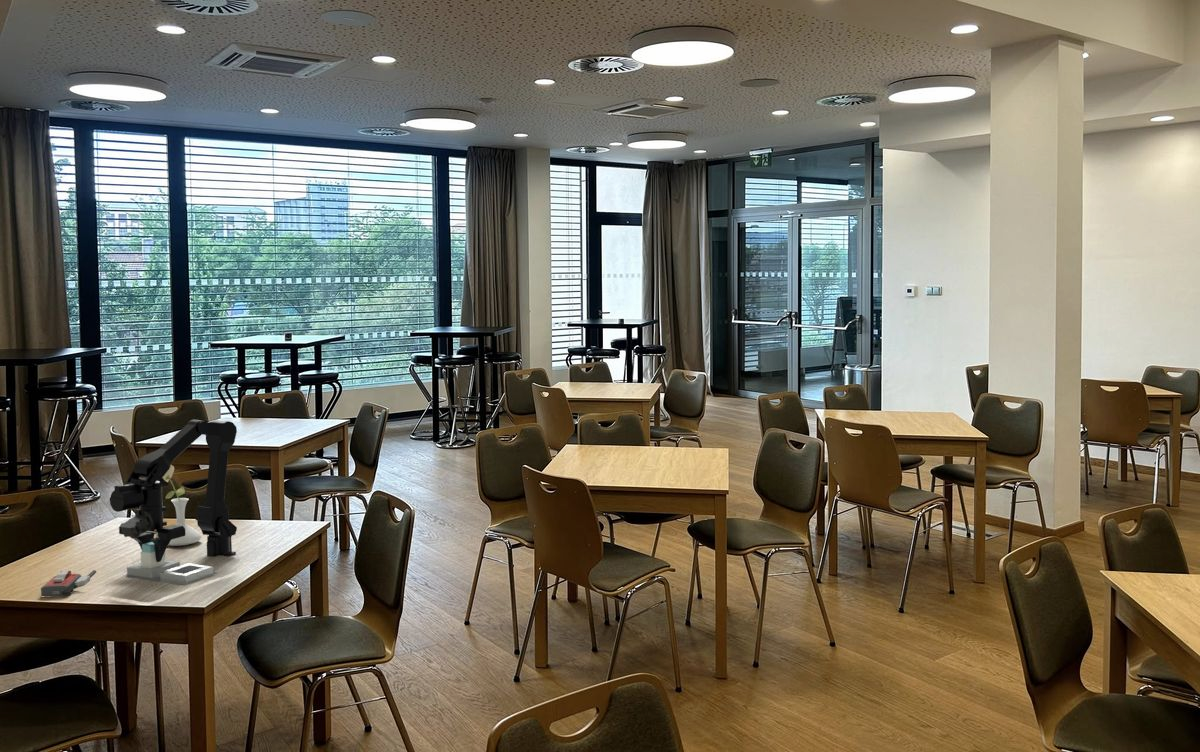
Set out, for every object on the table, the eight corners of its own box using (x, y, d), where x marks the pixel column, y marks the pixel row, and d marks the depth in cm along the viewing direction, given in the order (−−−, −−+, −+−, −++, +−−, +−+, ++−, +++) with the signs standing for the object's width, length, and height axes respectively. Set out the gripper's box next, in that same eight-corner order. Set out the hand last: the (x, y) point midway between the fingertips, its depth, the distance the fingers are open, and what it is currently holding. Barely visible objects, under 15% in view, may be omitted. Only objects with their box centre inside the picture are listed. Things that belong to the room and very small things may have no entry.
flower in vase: (183, 537, 307) (180, 459, 305) (209, 541, 302) (207, 461, 300) (148, 547, 295) (144, 465, 293) (175, 551, 290) (172, 468, 288)
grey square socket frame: (127, 574, 264) (126, 567, 264) (155, 565, 273) (155, 558, 272) (151, 578, 260) (151, 571, 260) (179, 569, 269) (179, 562, 269)
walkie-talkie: (76, 598, 247) (99, 576, 267) (75, 581, 247) (98, 560, 267) (38, 600, 246) (64, 578, 265) (37, 583, 245) (63, 562, 265)
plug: (141, 573, 265) (140, 544, 264) (156, 568, 269) (155, 540, 269) (151, 575, 264) (149, 545, 263) (165, 570, 268) (164, 541, 267)
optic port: (160, 579, 259) (159, 572, 259) (188, 570, 268) (187, 563, 268) (185, 583, 256) (185, 575, 256) (213, 573, 264) (213, 566, 264)
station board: (122, 578, 263) (121, 575, 263) (158, 567, 274) (157, 564, 274) (183, 588, 254) (183, 585, 254) (218, 575, 265) (218, 572, 265)
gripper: (100, 507, 261) (103, 564, 263) (152, 513, 254) (154, 572, 255) (135, 499, 271) (137, 554, 273) (185, 505, 264) (188, 561, 265)
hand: (153, 561), depth 266 cm, fingers closed on plug, 3 cm apart
